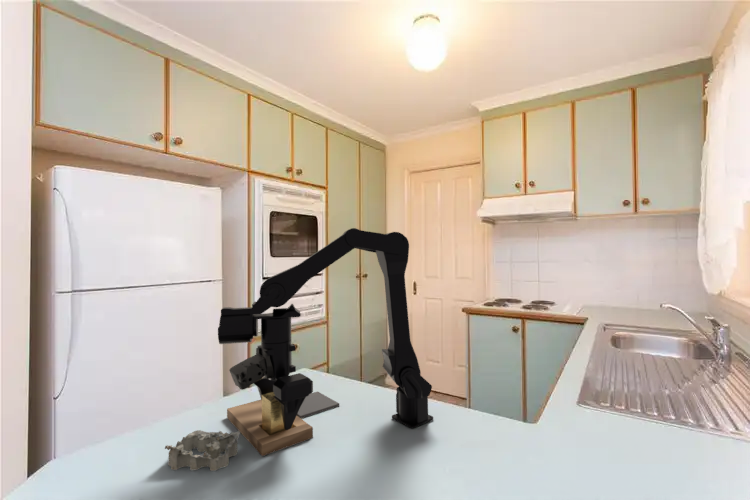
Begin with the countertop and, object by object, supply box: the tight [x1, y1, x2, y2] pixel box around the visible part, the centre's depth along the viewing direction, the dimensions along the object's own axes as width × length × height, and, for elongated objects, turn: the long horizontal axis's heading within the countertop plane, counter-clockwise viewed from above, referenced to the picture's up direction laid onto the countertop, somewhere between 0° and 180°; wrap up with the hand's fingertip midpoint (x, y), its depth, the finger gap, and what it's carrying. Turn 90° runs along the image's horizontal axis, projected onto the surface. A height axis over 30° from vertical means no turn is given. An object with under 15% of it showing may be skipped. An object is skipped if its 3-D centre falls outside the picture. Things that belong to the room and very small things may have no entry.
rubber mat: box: [297, 391, 340, 419], centre depth 85 cm, size 10×10×1 cm
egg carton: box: [164, 429, 241, 472], centre depth 63 cm, size 11×8×4 cm
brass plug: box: [262, 392, 293, 436], centre depth 70 cm, size 4×4×8 cm
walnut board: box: [226, 399, 314, 457], centre depth 74 cm, size 20×10×2 cm, turn 39°
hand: (277, 420), depth 70 cm, fingers open, 9 cm apart
